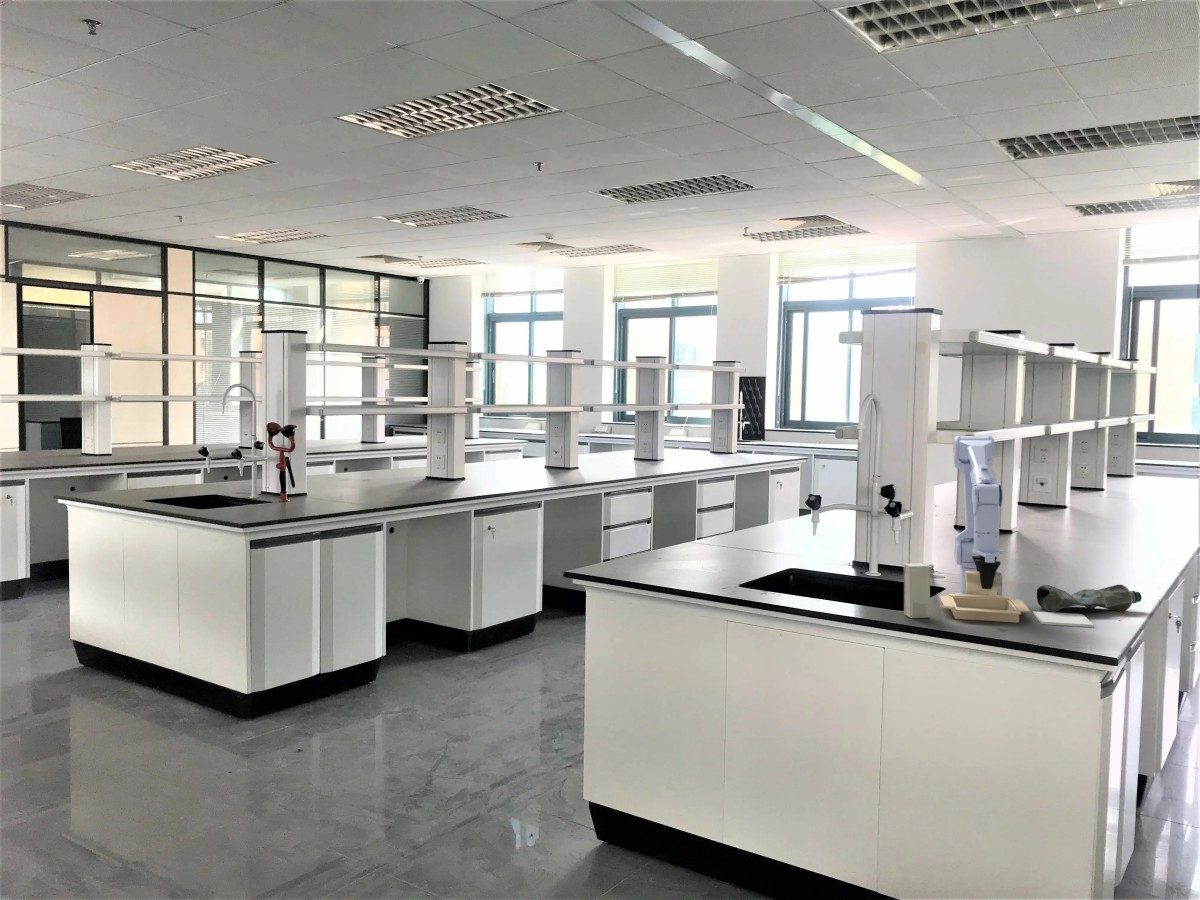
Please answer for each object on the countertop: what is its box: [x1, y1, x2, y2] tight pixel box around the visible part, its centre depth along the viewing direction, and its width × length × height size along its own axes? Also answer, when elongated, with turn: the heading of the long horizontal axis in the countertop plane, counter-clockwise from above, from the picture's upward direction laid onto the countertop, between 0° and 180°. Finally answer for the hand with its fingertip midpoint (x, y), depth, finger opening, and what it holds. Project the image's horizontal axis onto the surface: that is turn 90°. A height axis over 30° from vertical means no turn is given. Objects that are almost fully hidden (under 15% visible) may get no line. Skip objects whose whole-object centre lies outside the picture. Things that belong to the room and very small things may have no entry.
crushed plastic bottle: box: [1036, 584, 1143, 613], centre depth 223 cm, size 13×7×25 cm
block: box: [965, 571, 1003, 596], centre depth 220 cm, size 4×8×5 cm, turn 74°
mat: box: [1032, 610, 1095, 628], centre depth 214 cm, size 11×11×1 cm
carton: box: [939, 593, 1031, 623], centre depth 220 cm, size 19×19×3 cm
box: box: [903, 562, 931, 619], centre depth 218 cm, size 5×4×13 cm
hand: (985, 586), depth 220 cm, fingers closed on block, 4 cm apart
